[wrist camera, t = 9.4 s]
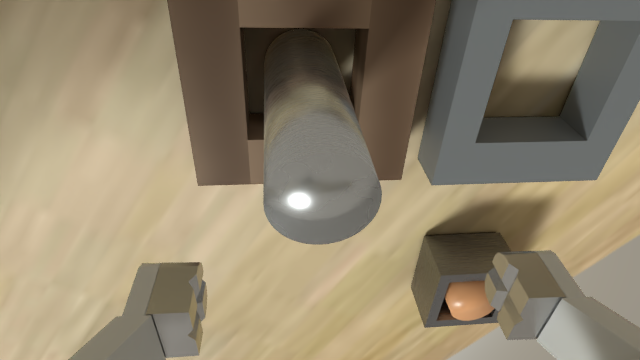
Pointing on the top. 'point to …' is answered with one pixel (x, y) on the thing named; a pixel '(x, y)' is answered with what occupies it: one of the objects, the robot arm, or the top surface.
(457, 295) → the brown egg
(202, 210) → the top surface
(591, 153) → the block
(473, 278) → the dark grey open box
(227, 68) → the socket block
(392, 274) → the top surface
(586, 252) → the top surface
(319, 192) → the grey metal cylinder
